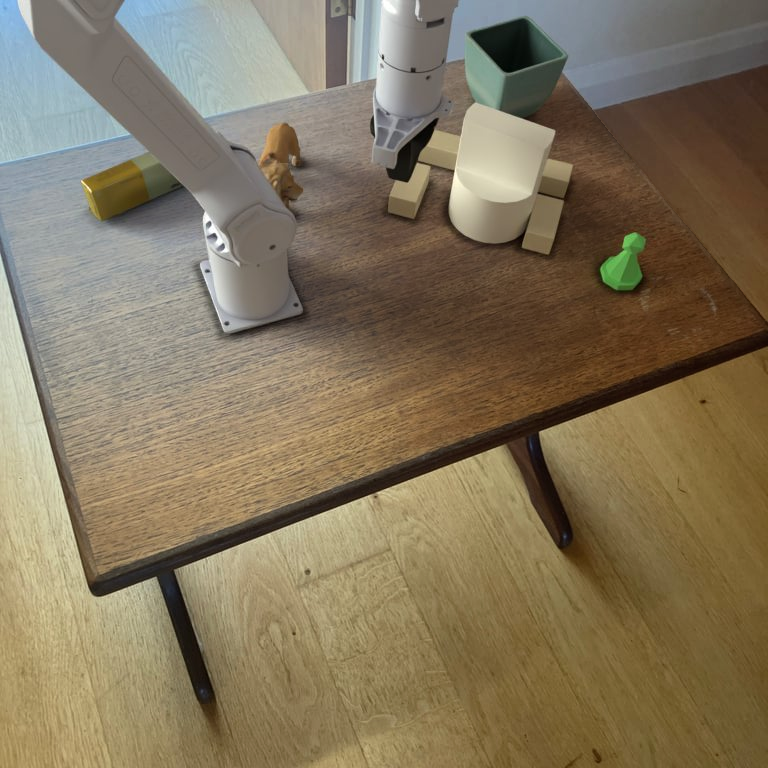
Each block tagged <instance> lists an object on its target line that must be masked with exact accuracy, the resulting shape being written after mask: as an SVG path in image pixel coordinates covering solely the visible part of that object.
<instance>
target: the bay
mask: <svg viewBox="0 0 768 768" xmlns="http://www.w3.org/2000/svg"><path fill="white" fill-rule="evenodd" d="M460 139H461V135H457V134H453V133H449V132H445V131H442V130H437V129H435V130H434V132H433V135H432V137H431V139H430V141H429V143H428V144H427V146H426V147H425V148H424V149H423V150H422V151H421V152H420V155H419V158H418V161H417V164H416V167H415V169H414V171H413V174H412V176H411V178H410V180H409V182H408V183H405V182H402V181H398V180H394V183H393V186H392V187H391V190H390V193H389V195H388V204H387V205H388V207H387V212H388V213H389V214H393V215H397V216H401V217H403V218H408V219H412V220H415V218H416V216H417V213H418V210H419V207H420V205H421V203H422V200H423V198H424V195H425V192H426V190H427V188H428V185H429V182H430V175H431V168H432V167H431V166H430V165H432V166H436V167H440V168H444V169H448V170H451V171H455V167H456V161H457V156H458V150H459V144H460ZM419 162H421V163H419ZM427 164H428V165H427ZM573 169H574V164H572V163H568V162H565V161H560V160H556V159H552V158H548V159H547V162H546V166H545V169H544V172H543V176H542V179H541V182H540V186H539V189H538V193H537V196H536V199H535V203H534V206H533V209H532V213H531V216H530V220H529V223H528V226H527V228H526V230H525V234H524V237H523V241H522V245H521V248H522V249H525V250H528V251H532V252H535V253H539V254H544V255H550V252H551V250H552V247H553V244H554V241H555V237H556V233H557V231H558V226H559V222H560V218H561V214H562V210H563V207H564V202H565V201H564V200H563V199H564V198H565V195H566V192H567V189H568V187H569V184H570V180H571V175H572V172H573ZM539 193H541V194H539ZM544 194H545V195H544ZM547 195H548V196H547ZM551 196H552V197H551Z"/></svg>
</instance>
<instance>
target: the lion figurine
mask: <svg viewBox="0 0 768 768" xmlns="http://www.w3.org/2000/svg"><path fill="white" fill-rule="evenodd" d="M301 150H302V149H301V148H300V144H299V139H298V136H297V132H296V129H295V128H294V127H292V126H290V125H289V123H288V122H282V123H278V124H275V125H273V126H272V127H271V128H270V129H269V131H268V134H267V135H266V142H265V146H264V149H263V151H262V154H261V155H260V159H259V161H258V162H257V164H258V166H259V167H260V169H261V170H262V172H263V173H264V175H265V176H266V178H267V179H268V181H269V182H270V184H271V185H272V187H273V188H274V190H275V191H276V193H277V194H278V196H279V197H280V199H281V201H282V202H283V204H284V205H285V207H286V208H287V209H288V210H289V211H290V212H292V214H293V215H294V211H292V210H291V208H290V202H292V203H296V202H297V201H298V199H299V197H300V196H301V194H303V192H304V187H303V186H301V185H300V184H298V183H297V182H295V179H294V178H295V177H294V176H293V174H292V172H291V168H290V155H291V156H292V160H291V165H292V166H294V167H300V166H301V165H302V164H303V161H302V157H301Z"/></svg>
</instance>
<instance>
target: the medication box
mask: <svg viewBox="0 0 768 768" xmlns="http://www.w3.org/2000/svg"><path fill="white" fill-rule="evenodd" d="M80 184H81V187H82V189H83V193H84V195H85V198H86V200H87V203H88V206H89V207H88V210H89V212H91V213H92V214H93V216H94V217H95V218H96V219H98V221H100V222H104V221H106V220H109V219H111V218H113V217H115V216H118V215H121V214H122V213H125V212H127V211H129V210H131V209H133V208H136V207H138V206H140V205H143V204H144V203H146V202H149V201H151V200H153V199H156V198H158V197H160V196H162V195H165V194H167V193H169V192H172V191H174V190H176V189H178V188H181V187H184V185H183V184H182V183H181V182H180V181H178V180H177V179H176V178H175V177H174V176H173V175H172V174H171V173H170V172H169V171H168V170H167V169H166V168H165V167H164V166H163V165H162V164H161V163H160V162H159V161H158V160H157V159H156V158H155V157H154V156H152V155H151V154H150V153H149V152H148V151H147V152H145V153H143V154H142V153H141V154H140V155H137V156H134V157H133V158H130V159H128V160H126V161H123V162H121V163H118V164H117V165H114V166H112V167H109V168H107V169H105V170H102V171H100V172H98V173H96V174H93V175H91V176H88V177H86V178H83V179H81V180H80Z"/></svg>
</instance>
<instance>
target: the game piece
mask: <svg viewBox="0 0 768 768" xmlns="http://www.w3.org/2000/svg"><path fill="white" fill-rule="evenodd" d="M646 243H647V238H645V237H644V236H642V235H641V234H639V233H638V232H636V231H634V232H632V233H630V234H627V235H625V236H624V238H623V243H622V246H621V248H622V249H623V250H622V251H620V252H619V253H618V254H617V255H616V256H612V255H611V256H609V258H607V259H606V260H605V262H604V263H602V264H601V266H600V269H599V271H600V275H601V279H602V282H603V283H604V284H605V285H607V286H609V287H611V288H612V289H613V290H615V291H633V290H634V288H636V287H637V286H638V284H639V283H641V280H642V279H643V273H642V270H641V268H640V264H639V263H638V254H639V253H642V252H644V249H645V245H646Z"/></svg>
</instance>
